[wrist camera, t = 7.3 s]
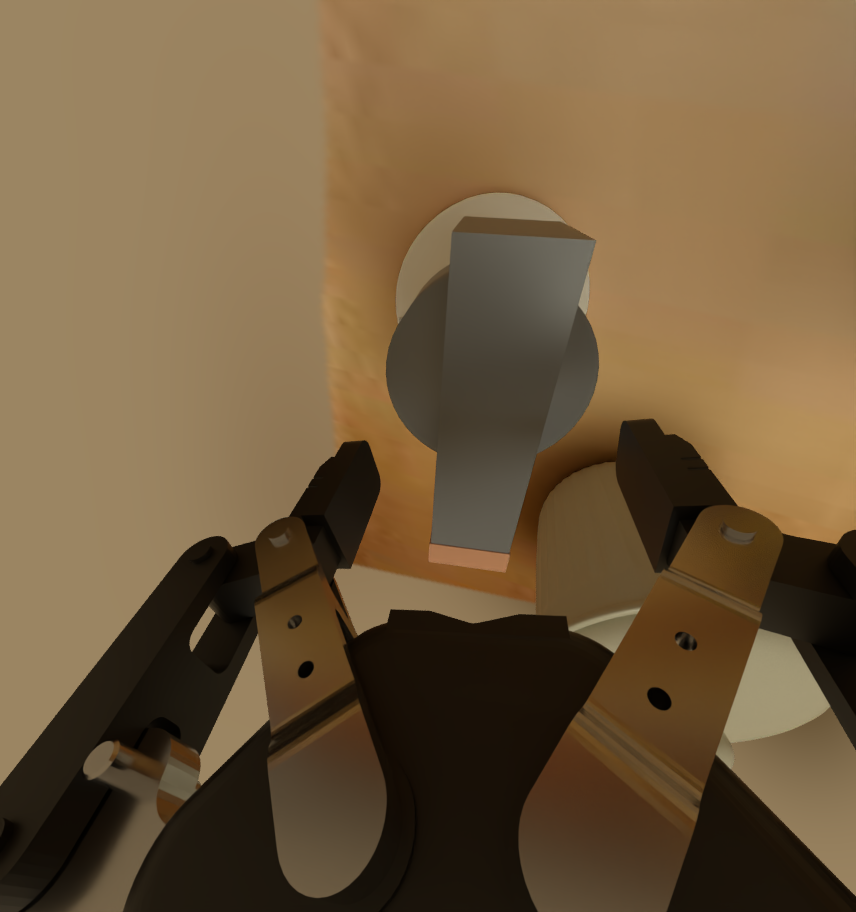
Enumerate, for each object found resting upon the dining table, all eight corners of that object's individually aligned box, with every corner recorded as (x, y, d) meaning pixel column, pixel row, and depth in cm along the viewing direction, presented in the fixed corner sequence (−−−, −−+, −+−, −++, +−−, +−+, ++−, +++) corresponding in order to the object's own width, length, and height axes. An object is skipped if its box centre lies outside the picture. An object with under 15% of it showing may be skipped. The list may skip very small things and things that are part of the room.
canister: (488, 464, 35) (486, 715, 19) (702, 397, 28) (1003, 700, 12) (544, 572, 44) (578, 809, 27) (719, 541, 37) (906, 831, 20)
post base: (590, 169, 21) (640, 162, 14) (578, 374, 29) (606, 437, 22) (381, 216, 24) (336, 230, 17) (419, 391, 31) (399, 452, 24)
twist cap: (402, 205, 16) (328, 224, 8) (617, 217, 15) (737, 249, 8) (403, 438, 23) (364, 552, 16) (546, 453, 22) (573, 582, 15)
